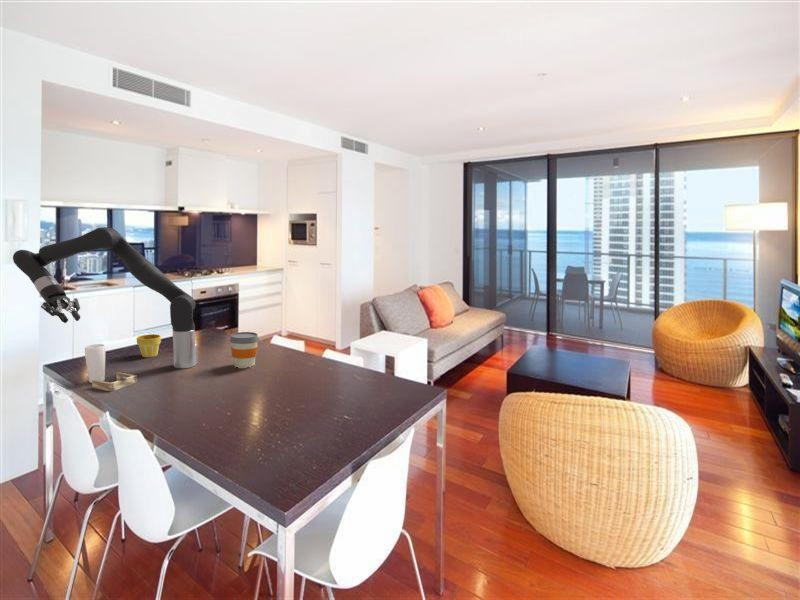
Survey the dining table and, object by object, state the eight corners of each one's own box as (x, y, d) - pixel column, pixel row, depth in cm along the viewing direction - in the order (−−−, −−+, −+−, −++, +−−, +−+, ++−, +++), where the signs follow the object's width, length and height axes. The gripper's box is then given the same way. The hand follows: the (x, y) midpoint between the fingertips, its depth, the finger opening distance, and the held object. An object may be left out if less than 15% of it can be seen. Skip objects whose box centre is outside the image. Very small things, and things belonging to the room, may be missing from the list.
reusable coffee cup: (258, 361, 214) (258, 331, 212) (258, 368, 202) (258, 337, 200) (231, 362, 210) (230, 332, 208) (229, 370, 198) (229, 338, 196)
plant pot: (144, 359, 208) (143, 340, 207) (133, 355, 214) (132, 336, 212) (165, 355, 217) (164, 336, 215) (154, 351, 222) (153, 333, 221)
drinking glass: (96, 385, 174) (94, 348, 171) (82, 383, 175) (80, 347, 173) (111, 379, 180) (109, 344, 178) (97, 378, 181) (95, 343, 179)
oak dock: (119, 378, 181) (118, 370, 181) (138, 382, 178) (137, 373, 178) (92, 387, 171) (91, 378, 170) (112, 391, 168) (111, 382, 167)
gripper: (34, 285, 173) (58, 317, 171) (71, 281, 186) (93, 312, 184) (26, 297, 175) (50, 329, 173) (63, 293, 188) (85, 323, 187)
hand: (72, 320), depth 179 cm, fingers open, 4 cm apart
